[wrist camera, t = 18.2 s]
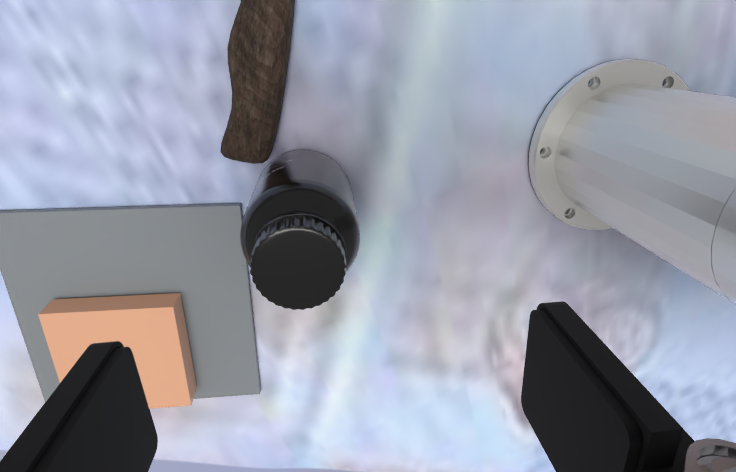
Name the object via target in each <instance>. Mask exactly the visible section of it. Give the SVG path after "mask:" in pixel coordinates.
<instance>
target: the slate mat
mask: <svg viewBox="0 0 736 472" xmlns="http://www.w3.org/2000/svg"><path fill="white" fill-rule="evenodd" d="M242 220H243V217H242V208H241V203H222V204H190V205H158V206H125V207H93V208H60V209H28V210H0V270H1V273H2V276H3V279H4V282H5V285H6V288H7V291H8V294H9V297H10V300H11V302H12V305H13V308H14V311H15V314H16V317H17V320H18V323H19V326H20V329H21V332H22V335H23V338H24V341H25V344H26V347H27V350H28V353H29V355H30V358H31V361H32V364H33V367H34V370H35V373H36V376H37V379H38V382H39V385H40V388H41V391H42V394H43V397H44V400H45V402H46V401H47V400H48V398H49V397H50V396H51V395H52V393H53V392H54V391H55V389H56V388H57V387H58V385H59V384H60V382H59V379H58V375H57V372H56V369H55V366H54V363H53V360H52V357H51V353H50V350H49V347H48V344H47V341H46V338H45V335H44V331H43V328H42V325H41V322H40V319H39V316H38V314H39V313H40V312H41V311H42V310H43V309H44V308H45V307H46V306H47V305H48V304H49V303H50V302H51V301H52V300H53V299H71V298H90V297H110V296H130V295H150V294H170V293H180V294H181V299H182V305H183V311H184V317H185V322H186V328H187V334H188V340H189V345H190V351H191V357H192V363H193V368H194V374H195V380H196V386H197V389H196V392H195V395H194V398H193V399H197V398H210V397H224V396H237V395H251V394H260V391H261V386H260V377H259V368H258V358H257V349H256V339H255V330H254V321H253V311H252V302H251V292H250V283H249V274H248V264H247V261H246V259H245V257H244V254H243V251H242V248H241V242H240V231H241V225H242Z"/></svg>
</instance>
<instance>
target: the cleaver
mask: <svg viewBox="0 0 736 472" xmlns="http://www.w3.org/2000/svg"><path fill="white" fill-rule="evenodd" d="M294 3H295V0H241V3H240V6H239V9H238V12H237V15H236V18H235V21H234V24H233V27H232V30H231V33H230V39H229V44H228V65H229V72H230V79H231V86H232V110H231V113H230V117H229V121H228V125H227V128H226V131H225V134H224V137H223V140H222V144H221V153H222V154H223V156H224V157H226V158H229V159H232V160H237V161H242V162H248V163H263V162H265V161H266V160H267V159H268V158H269V156H270V153H271V151H272V147H273V144H274V140H275V136H276V132H277V127H278V123H279V118H280V113H281V107H282V101H283V95H284V88H285V81H286V74H287V67H288V59H289V51H290V42H291V34H292V24H293V15H294Z"/></svg>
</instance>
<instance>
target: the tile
mask: <svg viewBox="0 0 736 472" xmlns="http://www.w3.org/2000/svg"><path fill="white" fill-rule="evenodd" d="M38 316H39V319H40V322H41V325H42V328H43V331H44V335H45V338H46V341H47V344H48V347H49V350H50V353H51V357H52V360H53V363H54V366H55V369H56V372H57V375H58V379H59V382H60V383H61V381H62V380H63V379H64V377H65V376H66V375H67V374H68V372H69V371H70V370H71V368H72V367H73V366H74V364H75V363H76V362H77V360H78V359H79V358H80V357H81V355H82V354H83V353H84V351H85V350H86V349H87V347H88V346H89V345H90V344H93V343H103V342H114V341H119V342H121V343H122V344H123V346H124V347H129V348H130V349H131V350H132V353H133V356H134V359H135V363H136V366H137V369H138V373H139V376H140V379H141V383H142V386H143V390H144V393H145V396H146V400H147V403H148V406H149V409H150V408H163V407H176V406H189V405H192V401H193V398H194V395H195V392H196V389H197V386H196V380H195V374H194V368H193V363H192V357H191V351H190V345H189V340H188V334H187V328H186V322H185V317H184V311H183V305H182V299H181V294H180V293H170V294H150V295H130V296H110V297H90V298H71V299H53V300H52V301H51V302H50V303H49V304H48V305H47V306H46V307H45V308H44V309H43V310H42V311H41V312H40V313H39V314H38Z"/></svg>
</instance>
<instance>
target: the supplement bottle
mask: <svg viewBox="0 0 736 472" xmlns="http://www.w3.org/2000/svg"><path fill="white" fill-rule="evenodd" d="M240 242H241V248H242V251H243V254H244V257H245V259H246V261H247V263H248V264H249V266H250V267H251V271H250V273H251V275H252V276H253V282H254V283H255V284H256V288H257V289H258V290H259V291H260V292H261V294H262V296H264V297H266V298H267V299H268V301H270V302H273V303H274V304H276V305H278V306H282V307H284V308H291V309H293V310H295V309H302V310H304V309H306V308H313V307H314V306H319V305H321V304H322V303H323V302H326V301H328V300H329V298H330V297H333V296H334V295H335V293H336V291H338V290H339V289H340V285H341V284H342V283H343V282H344V276H345V274H346V272H347V271H348V270H349V268H350V267H351V266H352V264H353V262H354V260H355V258H356V256H357V253H358V249H359V244H360V230H359V224H358V219H357V214H356V210H355V205H354V200H353V196H352V191H351V187H350V184H349V181H348V179H347V176H346V175H345V173H344V171H343V170H342V168H341V167H340V166H339V165H338V164H337V163H336V162H335V161H333V160H332V159H331V158H329V157H328V156H326V155H324V154H321V153H319V152H315V151H310V150H295V151H290V152H287V153H284V154H282V155H280V156H278V157H277V158H275V159H274V160H273V161H271V162H270V163H269V164H268V165H267V166H266V168H265V169H264V170H263V172H262V174H261V176H260V178H259V180H258V182H257V184H256V187H255V189H254V192H253V194H252V197H251V199H250V202H249V204H248V207H247V209H246V212H245V214H244V217H243V220H242V225H241V231H240Z"/></svg>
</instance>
